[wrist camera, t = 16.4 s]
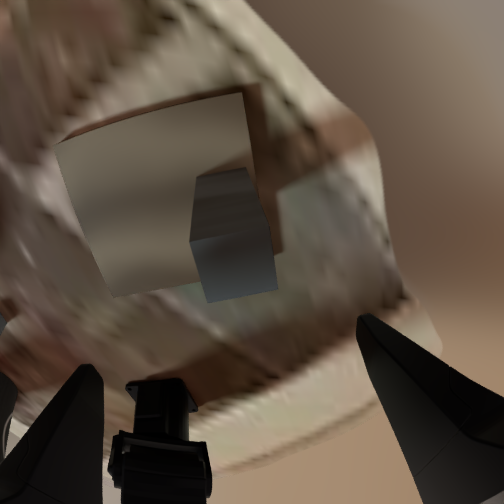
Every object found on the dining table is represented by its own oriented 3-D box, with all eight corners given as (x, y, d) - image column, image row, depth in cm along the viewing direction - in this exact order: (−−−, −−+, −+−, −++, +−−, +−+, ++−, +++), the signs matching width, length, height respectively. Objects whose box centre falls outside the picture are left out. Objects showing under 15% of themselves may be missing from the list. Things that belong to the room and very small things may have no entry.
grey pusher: (266, 256, 23) (296, 353, 15) (117, 285, 23) (88, 382, 15) (239, 91, 17) (265, 100, 9) (62, 140, 17) (-23, 192, 9)
